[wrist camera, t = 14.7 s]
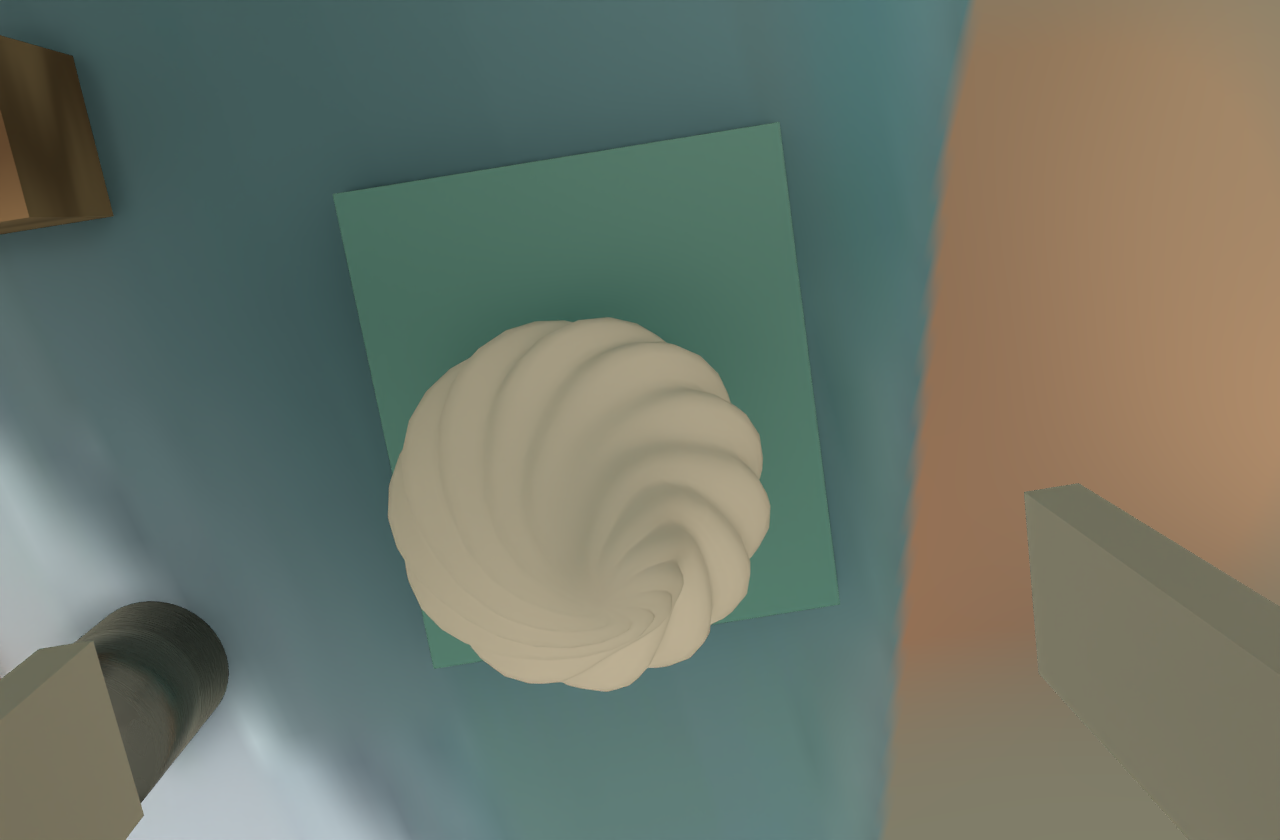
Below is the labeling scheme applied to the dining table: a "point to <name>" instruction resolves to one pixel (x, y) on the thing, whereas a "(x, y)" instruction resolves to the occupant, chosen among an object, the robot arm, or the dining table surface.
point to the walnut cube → (45, 142)
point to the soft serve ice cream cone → (579, 502)
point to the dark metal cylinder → (158, 681)
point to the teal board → (611, 303)
